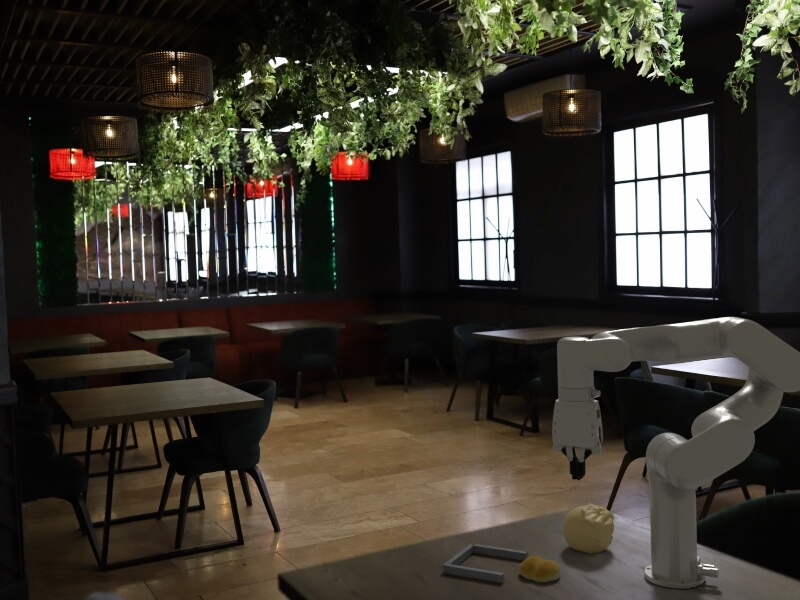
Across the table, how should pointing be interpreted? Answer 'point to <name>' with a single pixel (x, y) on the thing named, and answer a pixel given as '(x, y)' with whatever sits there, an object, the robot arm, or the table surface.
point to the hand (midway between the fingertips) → (577, 478)
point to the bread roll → (539, 569)
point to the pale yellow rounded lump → (589, 528)
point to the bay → (454, 569)
